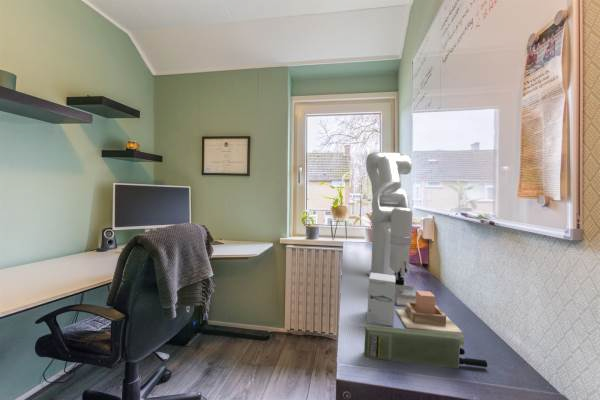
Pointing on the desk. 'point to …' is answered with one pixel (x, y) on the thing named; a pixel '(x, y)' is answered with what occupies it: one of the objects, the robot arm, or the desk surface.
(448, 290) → the desk surface
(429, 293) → the block
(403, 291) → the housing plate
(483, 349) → the desk surface
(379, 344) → the handheld radio
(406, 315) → the socket board
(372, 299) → the supplement box
